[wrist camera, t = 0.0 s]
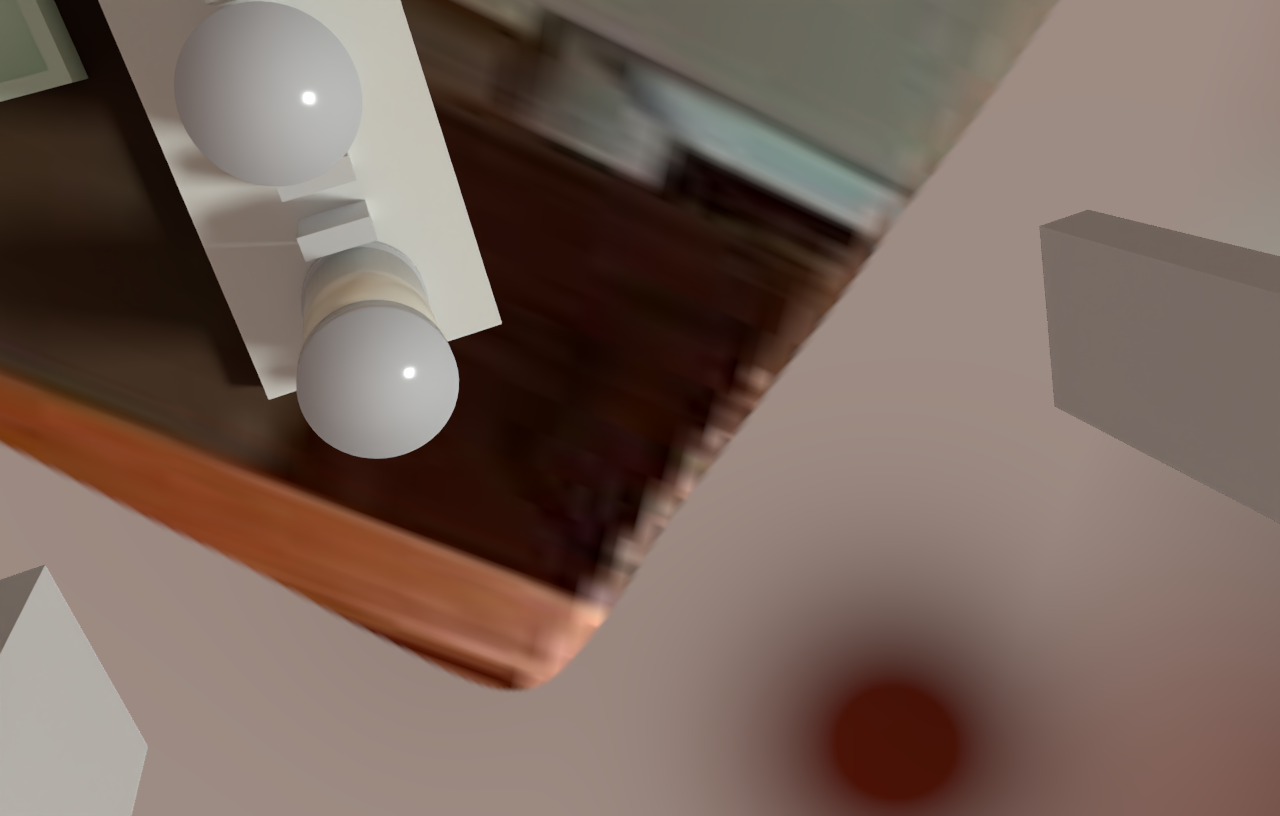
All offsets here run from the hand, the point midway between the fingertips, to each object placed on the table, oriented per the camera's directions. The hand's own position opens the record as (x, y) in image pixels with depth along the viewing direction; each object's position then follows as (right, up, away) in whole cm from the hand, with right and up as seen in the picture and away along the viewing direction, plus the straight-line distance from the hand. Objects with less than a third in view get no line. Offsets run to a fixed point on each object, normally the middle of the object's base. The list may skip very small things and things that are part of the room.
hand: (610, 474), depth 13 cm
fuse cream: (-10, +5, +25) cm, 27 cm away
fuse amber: (-12, +12, +21) cm, 27 cm away
